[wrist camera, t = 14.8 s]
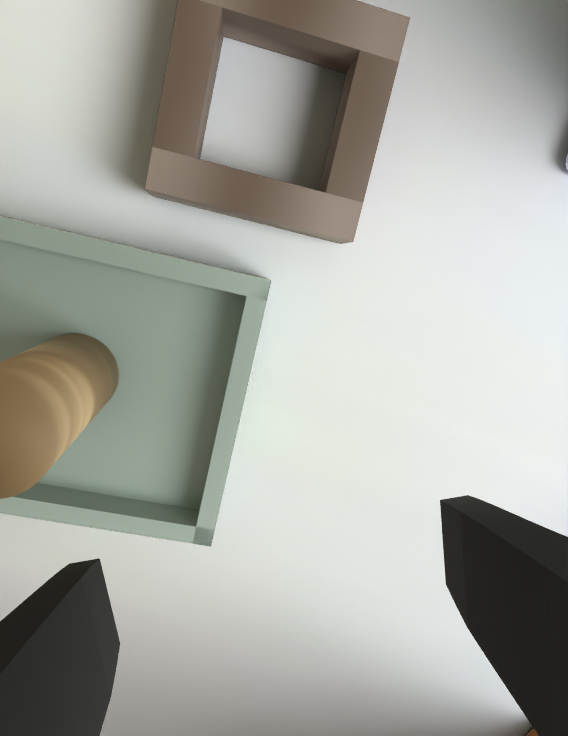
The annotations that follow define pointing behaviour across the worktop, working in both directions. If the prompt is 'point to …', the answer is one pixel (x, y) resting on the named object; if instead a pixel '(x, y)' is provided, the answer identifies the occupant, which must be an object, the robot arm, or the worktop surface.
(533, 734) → the pancake mix bag
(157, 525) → the tray
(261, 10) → the socket block
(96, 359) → the dowel
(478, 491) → the worktop surface
